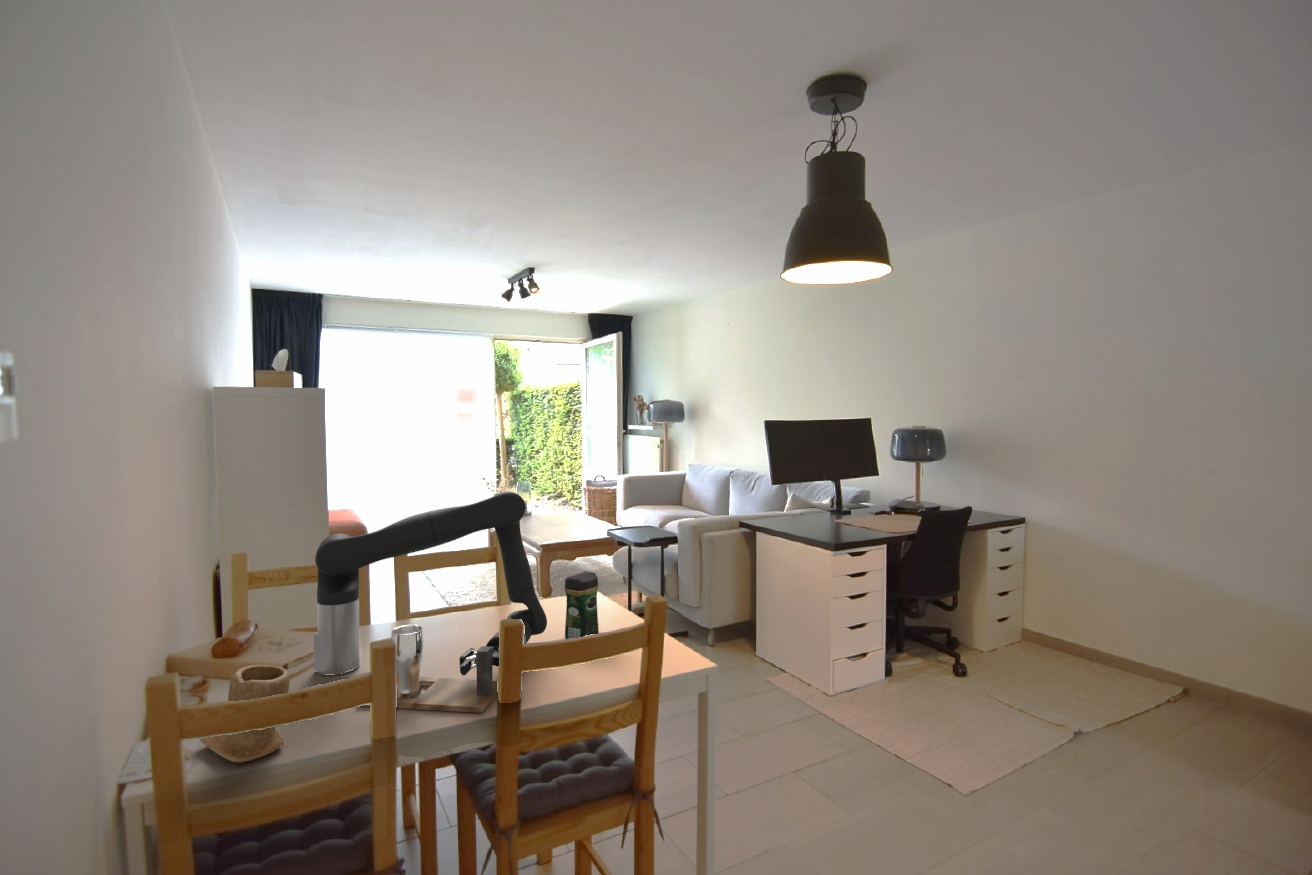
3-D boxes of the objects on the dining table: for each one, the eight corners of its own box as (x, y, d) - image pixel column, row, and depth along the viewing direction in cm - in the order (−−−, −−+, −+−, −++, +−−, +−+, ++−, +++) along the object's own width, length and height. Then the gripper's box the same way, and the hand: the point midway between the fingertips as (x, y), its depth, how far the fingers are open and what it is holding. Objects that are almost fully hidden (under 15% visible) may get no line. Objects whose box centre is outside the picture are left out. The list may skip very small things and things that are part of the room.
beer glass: (430, 690, 144) (430, 626, 143) (410, 704, 137) (410, 636, 137) (404, 686, 146) (404, 623, 145) (383, 700, 139) (383, 633, 139)
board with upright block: (357, 705, 136) (356, 654, 135) (388, 680, 149) (388, 633, 148) (482, 712, 133) (482, 660, 133) (503, 686, 146) (503, 638, 145)
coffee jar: (581, 630, 184) (581, 567, 184) (602, 635, 180) (603, 571, 179) (559, 640, 176) (559, 575, 175) (581, 646, 172) (581, 579, 171)
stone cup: (302, 745, 120) (301, 668, 120) (232, 774, 110) (230, 691, 110) (265, 722, 129) (263, 650, 128) (197, 748, 119) (195, 670, 118)
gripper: (478, 628, 154) (450, 653, 138) (534, 631, 153) (513, 656, 137) (478, 658, 155) (450, 687, 138) (534, 661, 153) (513, 690, 137)
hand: (481, 672), depth 138 cm, fingers open, 8 cm apart
